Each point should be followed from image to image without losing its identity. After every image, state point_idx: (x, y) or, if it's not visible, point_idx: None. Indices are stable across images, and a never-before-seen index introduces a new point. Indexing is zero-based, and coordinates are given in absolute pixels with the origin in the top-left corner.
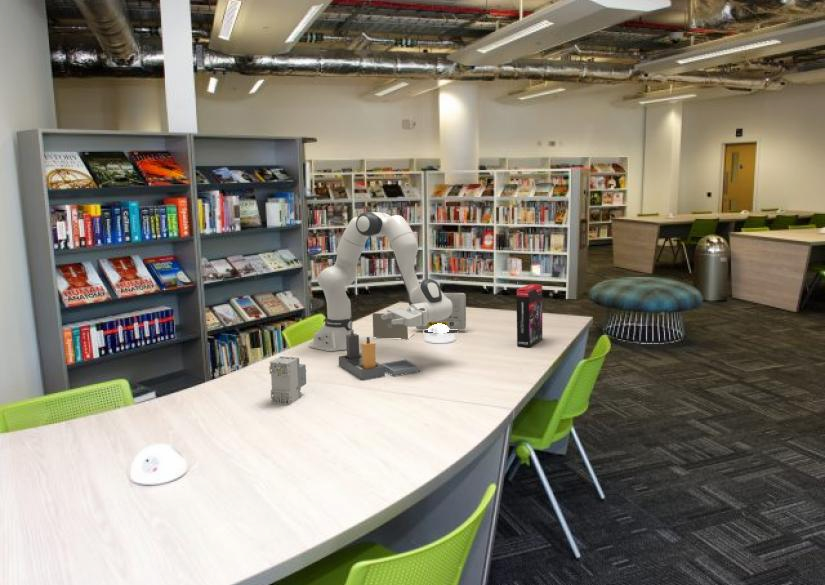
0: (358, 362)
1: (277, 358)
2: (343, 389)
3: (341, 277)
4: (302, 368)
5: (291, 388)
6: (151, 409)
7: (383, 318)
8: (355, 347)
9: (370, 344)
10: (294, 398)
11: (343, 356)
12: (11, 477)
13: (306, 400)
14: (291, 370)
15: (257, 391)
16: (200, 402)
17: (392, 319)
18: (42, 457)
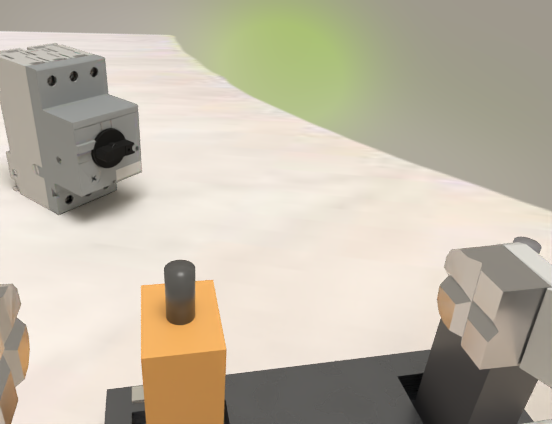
0: (308, 413)
1: (82, 52)
2: (31, 326)
3: None
4: (57, 125)
5: (12, 148)
6: (179, 81)
7: (446, 300)
8: (461, 370)
9: (142, 326)
10: (30, 190)
11: None
12: (15, 32)
13: (13, 220)
14: (5, 89)
15: (195, 163)
16: (176, 109)
17: (4, 296)
18: (57, 40)
